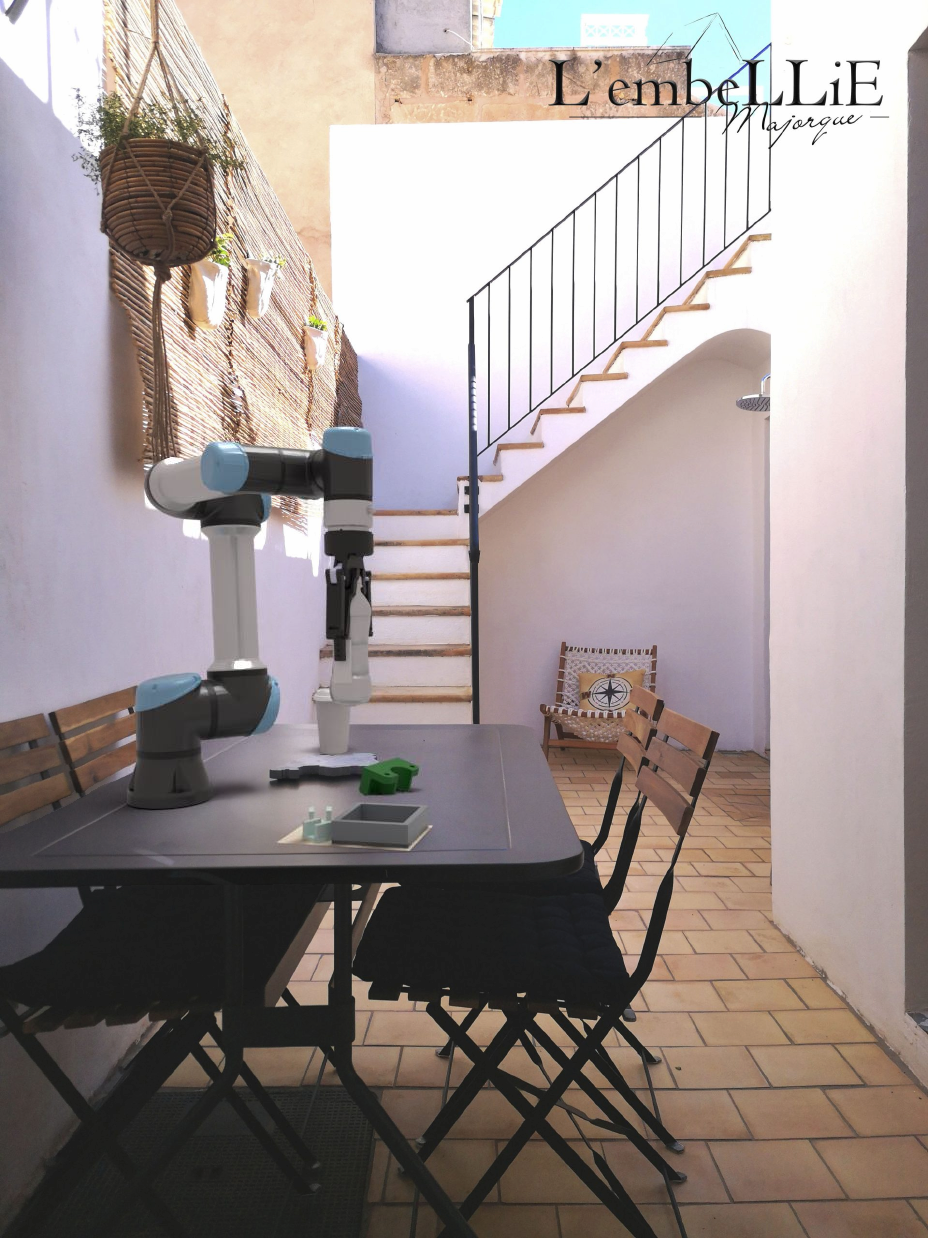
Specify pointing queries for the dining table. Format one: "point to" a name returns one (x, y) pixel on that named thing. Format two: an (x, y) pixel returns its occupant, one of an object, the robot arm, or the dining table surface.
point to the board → (297, 834)
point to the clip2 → (316, 830)
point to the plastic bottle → (356, 655)
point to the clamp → (388, 777)
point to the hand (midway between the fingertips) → (350, 680)
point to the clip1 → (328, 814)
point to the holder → (380, 825)
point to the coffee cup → (331, 723)
